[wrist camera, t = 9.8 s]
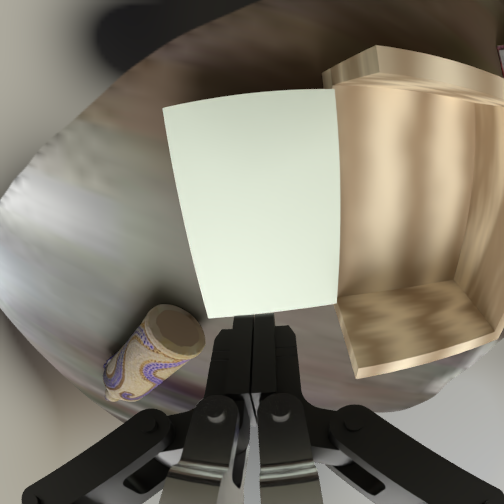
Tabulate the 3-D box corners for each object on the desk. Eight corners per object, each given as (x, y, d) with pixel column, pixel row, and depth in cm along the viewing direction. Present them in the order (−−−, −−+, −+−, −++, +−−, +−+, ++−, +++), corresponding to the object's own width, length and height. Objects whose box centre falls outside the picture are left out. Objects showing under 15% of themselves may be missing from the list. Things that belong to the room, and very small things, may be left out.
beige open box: (465, 90, 18) (551, 102, 8) (447, 274, 29) (497, 338, 18) (321, 73, 20) (375, 45, 9) (329, 290, 30) (355, 378, 19)
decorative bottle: (158, 289, 31) (140, 329, 25) (211, 323, 33) (203, 366, 27) (94, 372, 40) (81, 401, 34) (130, 393, 43) (120, 423, 37)
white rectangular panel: (334, 89, 17) (162, 108, 17) (336, 303, 25) (208, 318, 26) (326, 90, 18) (169, 108, 19) (331, 290, 27) (210, 305, 27)
